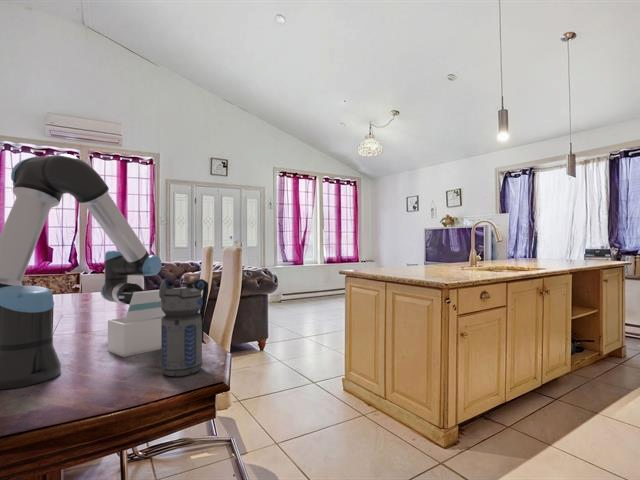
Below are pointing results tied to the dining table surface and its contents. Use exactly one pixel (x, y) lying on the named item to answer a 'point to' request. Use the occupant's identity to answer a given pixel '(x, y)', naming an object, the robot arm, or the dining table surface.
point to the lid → (144, 306)
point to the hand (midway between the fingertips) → (161, 298)
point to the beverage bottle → (182, 327)
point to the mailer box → (134, 336)
